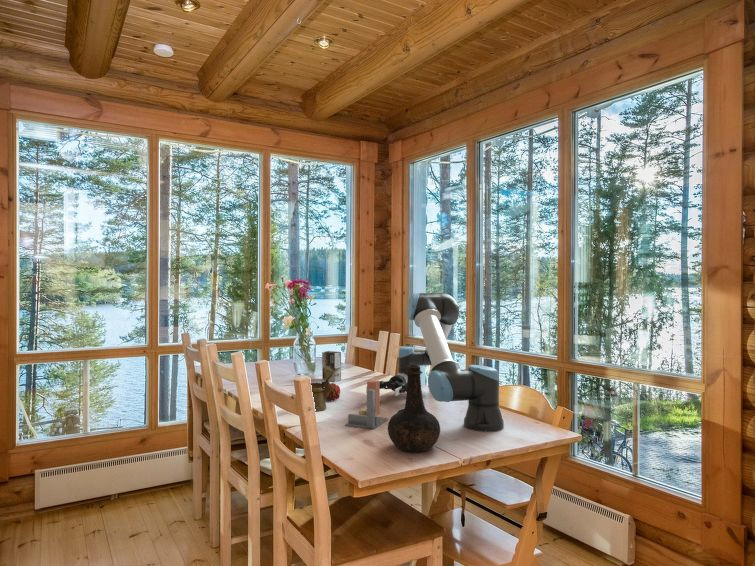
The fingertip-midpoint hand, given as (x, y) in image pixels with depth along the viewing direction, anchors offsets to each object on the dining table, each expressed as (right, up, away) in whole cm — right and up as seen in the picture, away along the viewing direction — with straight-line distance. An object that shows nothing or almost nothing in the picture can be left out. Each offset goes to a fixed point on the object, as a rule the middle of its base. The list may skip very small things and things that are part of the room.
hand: (381, 391), depth 228 cm
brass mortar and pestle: (-27, -8, +1) cm, 28 cm away
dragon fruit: (-24, -8, +19) cm, 32 cm away
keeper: (-6, -8, -21) cm, 24 cm away
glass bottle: (+11, -8, -52) cm, 54 cm away
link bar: (-3, -8, -8) cm, 12 cm away
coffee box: (-27, -8, +66) cm, 72 cm away
